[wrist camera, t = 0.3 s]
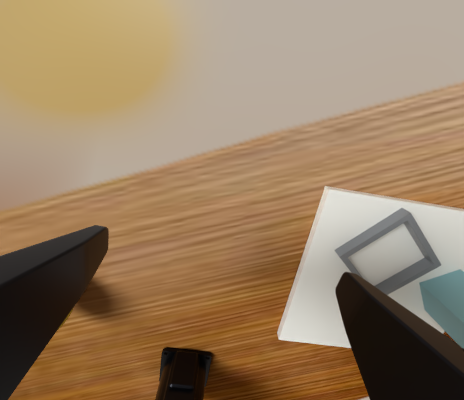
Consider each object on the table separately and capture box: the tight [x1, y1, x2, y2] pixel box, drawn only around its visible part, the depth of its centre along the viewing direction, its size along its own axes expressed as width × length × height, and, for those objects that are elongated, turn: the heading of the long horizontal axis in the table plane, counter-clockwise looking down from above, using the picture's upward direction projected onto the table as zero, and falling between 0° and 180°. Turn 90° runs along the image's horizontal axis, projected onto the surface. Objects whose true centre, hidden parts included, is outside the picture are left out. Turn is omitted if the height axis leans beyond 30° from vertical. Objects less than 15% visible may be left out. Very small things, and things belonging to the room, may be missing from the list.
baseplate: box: [277, 186, 464, 348], centre depth 27 cm, size 20×20×1 cm
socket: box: [335, 208, 441, 295], centre depth 24 cm, size 8×8×1 cm
